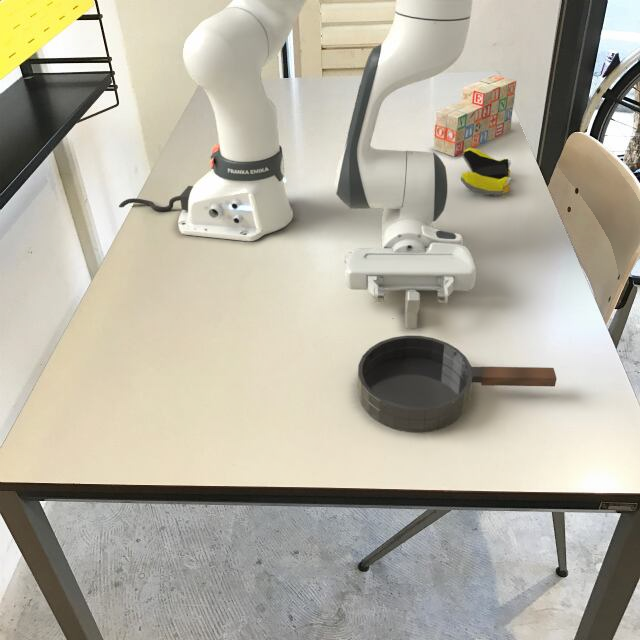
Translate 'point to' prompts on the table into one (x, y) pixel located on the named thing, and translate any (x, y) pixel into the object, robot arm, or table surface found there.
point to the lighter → (411, 308)
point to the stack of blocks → (475, 116)
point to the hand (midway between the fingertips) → (411, 299)
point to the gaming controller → (486, 173)
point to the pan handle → (514, 376)
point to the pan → (414, 383)
